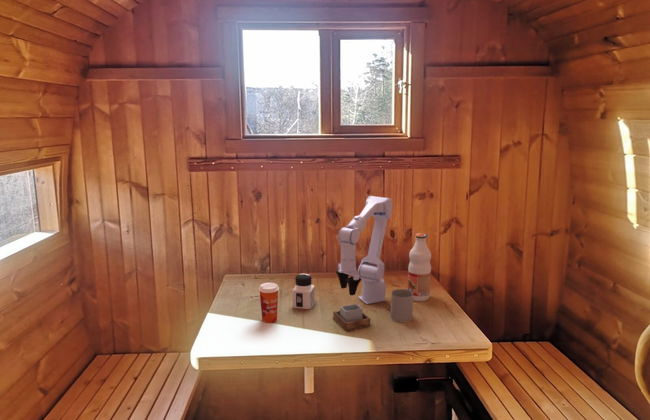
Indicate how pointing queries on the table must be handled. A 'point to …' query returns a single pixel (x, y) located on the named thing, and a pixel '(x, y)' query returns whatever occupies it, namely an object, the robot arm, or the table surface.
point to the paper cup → (269, 301)
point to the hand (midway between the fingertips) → (348, 291)
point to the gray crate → (351, 312)
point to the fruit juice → (419, 269)
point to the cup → (401, 305)
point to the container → (303, 292)
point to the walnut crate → (351, 325)
